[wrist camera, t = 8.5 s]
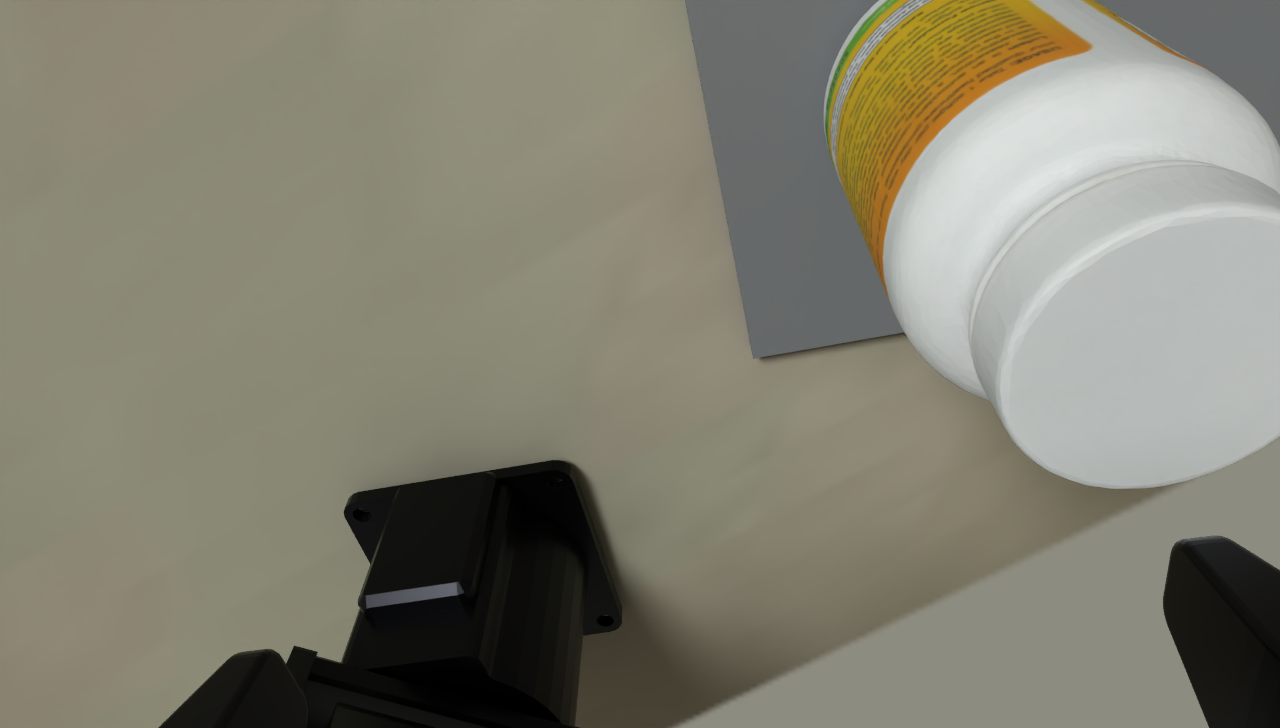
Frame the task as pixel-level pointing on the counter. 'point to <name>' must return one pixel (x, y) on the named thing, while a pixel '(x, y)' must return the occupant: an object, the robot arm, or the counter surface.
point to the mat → (801, 163)
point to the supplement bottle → (1069, 229)
